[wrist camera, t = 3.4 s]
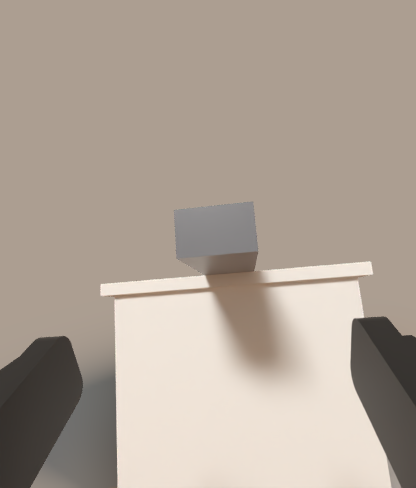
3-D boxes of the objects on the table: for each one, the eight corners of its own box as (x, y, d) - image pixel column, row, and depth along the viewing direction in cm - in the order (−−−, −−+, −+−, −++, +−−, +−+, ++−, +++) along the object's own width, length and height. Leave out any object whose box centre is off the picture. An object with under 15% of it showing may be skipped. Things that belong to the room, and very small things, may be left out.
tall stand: (104, 769, 21) (100, 284, 27) (161, 583, 34) (150, 289, 40) (463, 803, 18) (370, 261, 24) (371, 588, 32) (326, 275, 38)
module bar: (176, 258, 16) (171, 155, 17) (219, 283, 39) (216, 240, 40) (258, 251, 15) (247, 145, 16) (252, 281, 38) (247, 237, 40)
